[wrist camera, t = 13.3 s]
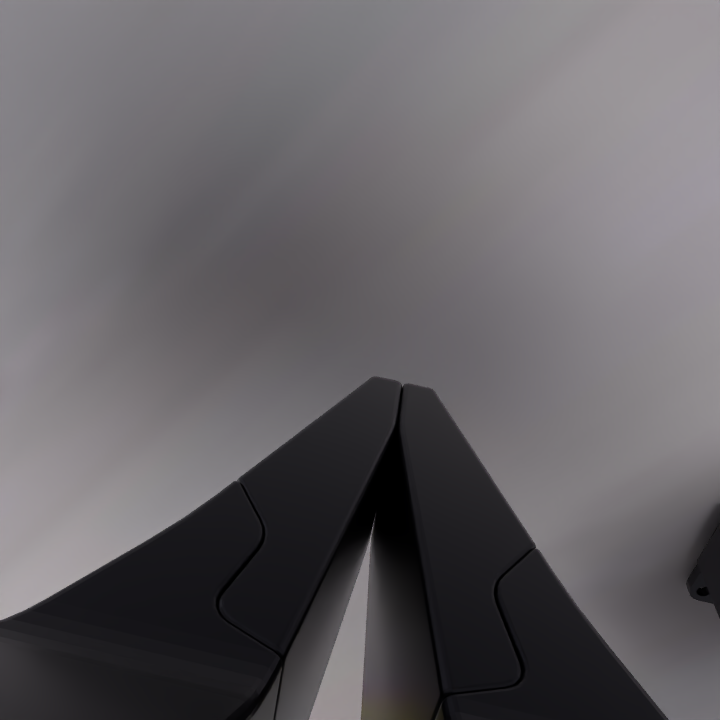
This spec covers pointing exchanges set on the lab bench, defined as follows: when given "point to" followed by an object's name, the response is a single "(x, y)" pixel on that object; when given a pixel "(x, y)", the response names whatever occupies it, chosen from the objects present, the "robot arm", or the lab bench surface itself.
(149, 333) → the lab bench surface
